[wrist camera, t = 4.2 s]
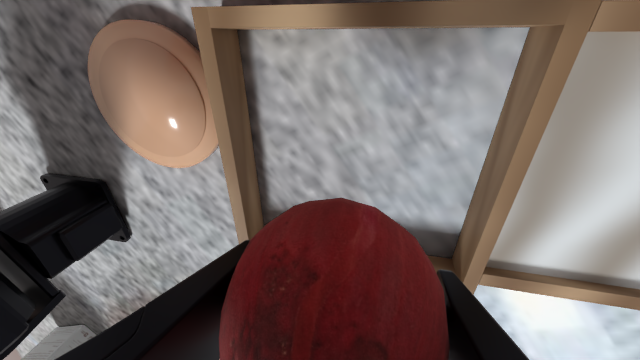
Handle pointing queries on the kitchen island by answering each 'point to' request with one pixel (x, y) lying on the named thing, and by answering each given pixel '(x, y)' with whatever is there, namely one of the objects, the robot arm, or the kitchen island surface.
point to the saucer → (153, 92)
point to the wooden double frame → (496, 138)
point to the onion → (334, 290)
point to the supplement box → (60, 342)
